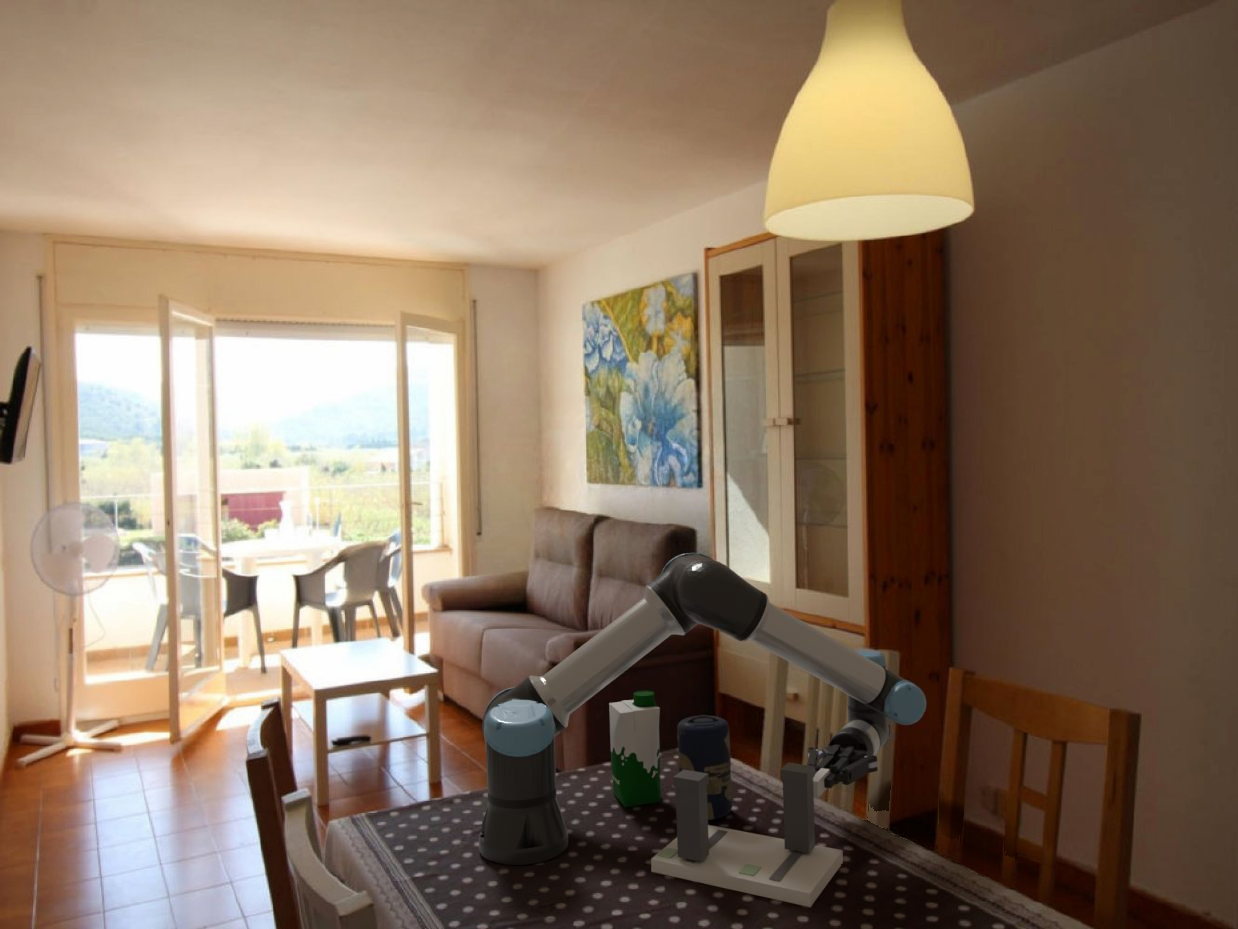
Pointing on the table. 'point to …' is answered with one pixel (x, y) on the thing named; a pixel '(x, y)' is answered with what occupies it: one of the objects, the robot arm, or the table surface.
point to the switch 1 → (692, 814)
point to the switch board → (754, 866)
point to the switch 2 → (798, 807)
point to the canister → (708, 758)
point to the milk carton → (635, 749)
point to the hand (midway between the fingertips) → (813, 789)
